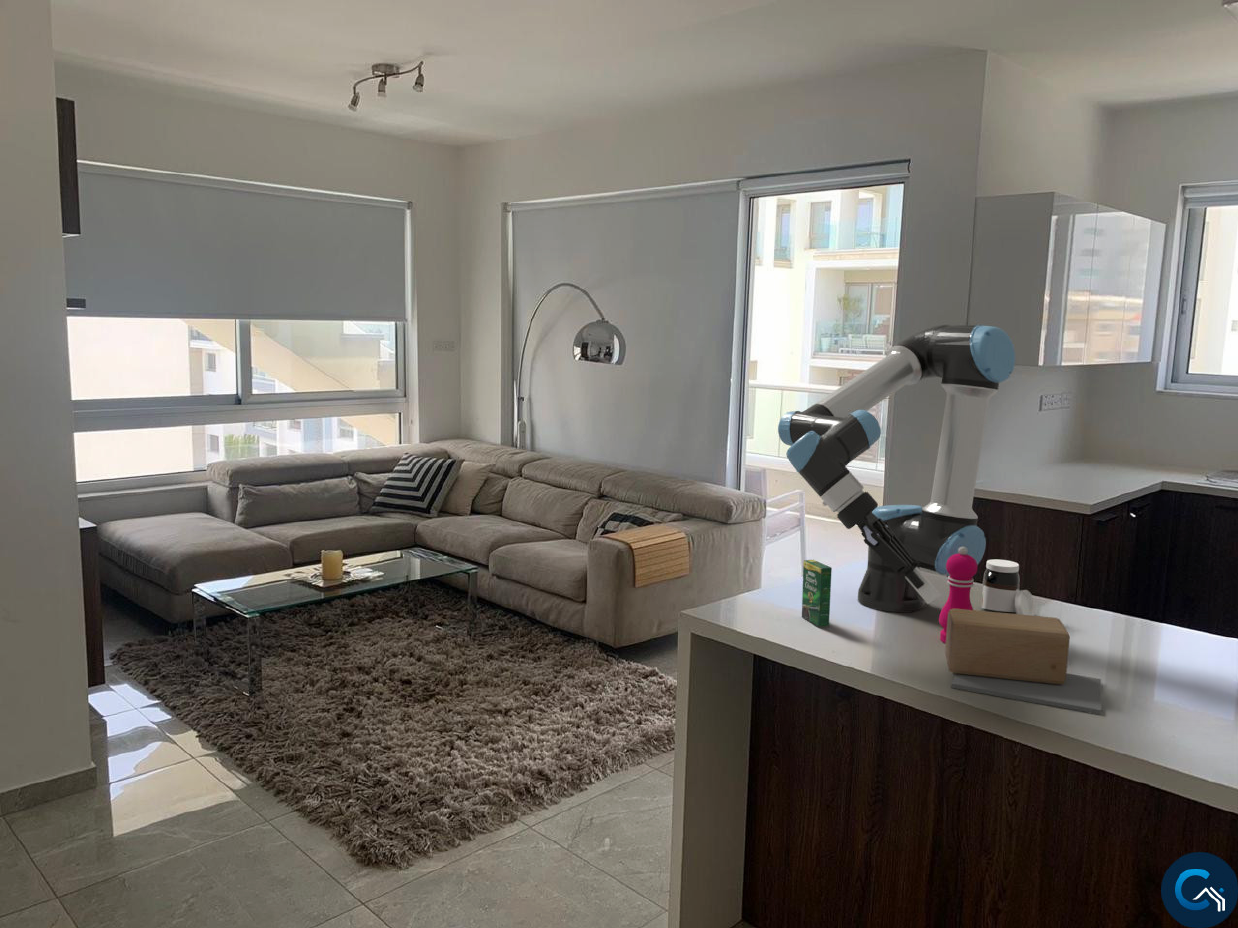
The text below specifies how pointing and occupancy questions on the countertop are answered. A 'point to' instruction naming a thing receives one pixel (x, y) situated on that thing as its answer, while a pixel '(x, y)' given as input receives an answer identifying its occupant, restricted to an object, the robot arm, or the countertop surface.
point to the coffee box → (816, 592)
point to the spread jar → (1005, 589)
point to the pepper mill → (958, 585)
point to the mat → (1039, 690)
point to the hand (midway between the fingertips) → (934, 598)
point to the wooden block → (1007, 646)
